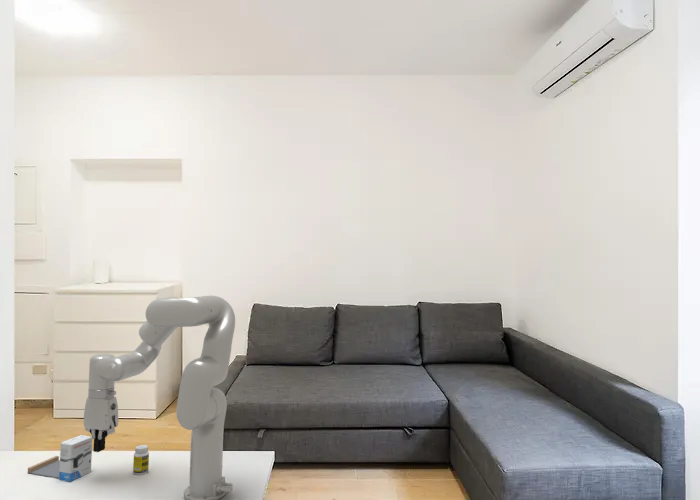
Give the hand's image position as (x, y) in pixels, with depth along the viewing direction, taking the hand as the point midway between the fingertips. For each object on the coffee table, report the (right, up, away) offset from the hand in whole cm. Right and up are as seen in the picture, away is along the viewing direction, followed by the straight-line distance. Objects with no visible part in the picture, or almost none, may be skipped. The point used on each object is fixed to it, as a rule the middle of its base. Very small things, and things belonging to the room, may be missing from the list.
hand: (99, 450), depth 159 cm
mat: (-17, -9, +7) cm, 21 cm away
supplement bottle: (+11, -10, +6) cm, 16 cm away
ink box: (-9, -9, +2) cm, 13 cm away
